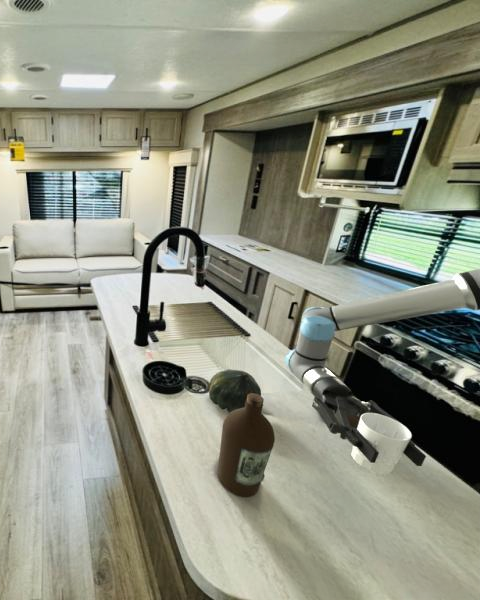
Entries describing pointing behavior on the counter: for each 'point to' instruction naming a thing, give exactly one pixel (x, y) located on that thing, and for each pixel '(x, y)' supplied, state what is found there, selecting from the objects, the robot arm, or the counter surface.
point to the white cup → (381, 442)
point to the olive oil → (245, 448)
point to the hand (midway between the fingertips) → (397, 459)
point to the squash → (232, 389)
